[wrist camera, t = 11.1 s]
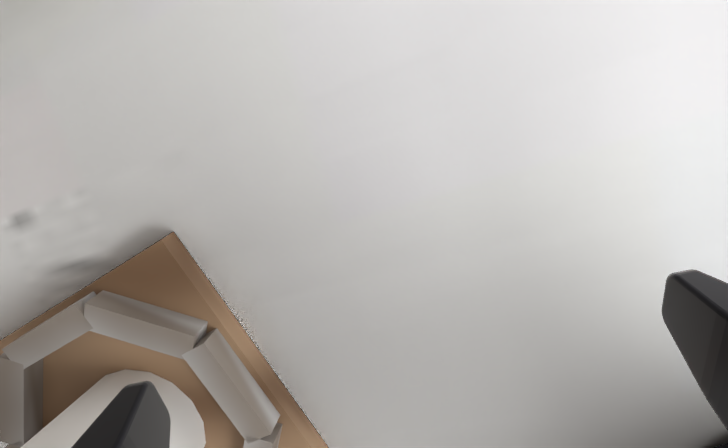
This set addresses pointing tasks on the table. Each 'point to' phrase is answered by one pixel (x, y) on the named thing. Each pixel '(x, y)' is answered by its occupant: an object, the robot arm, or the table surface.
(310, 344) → the table surface
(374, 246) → the table surface
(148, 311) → the ring board
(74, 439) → the white cup
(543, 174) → the table surface
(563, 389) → the table surface
